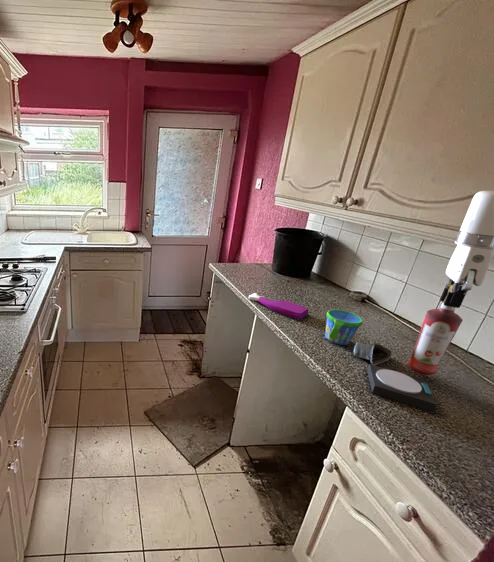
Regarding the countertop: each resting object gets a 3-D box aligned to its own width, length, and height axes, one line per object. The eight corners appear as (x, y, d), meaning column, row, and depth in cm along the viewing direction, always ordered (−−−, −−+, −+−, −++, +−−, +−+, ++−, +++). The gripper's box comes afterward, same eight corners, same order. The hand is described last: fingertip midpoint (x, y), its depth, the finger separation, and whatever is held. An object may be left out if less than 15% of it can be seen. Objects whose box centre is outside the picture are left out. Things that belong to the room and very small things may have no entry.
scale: (421, 386, 91) (425, 377, 90) (433, 411, 82) (437, 402, 81) (366, 370, 98) (370, 362, 97) (371, 392, 88) (375, 384, 87)
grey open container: (369, 348, 111) (355, 329, 106) (393, 353, 104) (379, 333, 100) (358, 370, 108) (343, 352, 104) (382, 377, 102) (367, 358, 98)
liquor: (437, 370, 95) (476, 286, 85) (436, 381, 90) (477, 293, 80) (405, 360, 100) (439, 279, 90) (403, 370, 95) (438, 285, 85)
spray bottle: (298, 321, 127) (243, 301, 145) (309, 314, 133) (256, 295, 151) (299, 314, 126) (244, 295, 144) (311, 308, 132) (257, 290, 150)
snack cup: (343, 354, 106) (352, 328, 102) (311, 339, 114) (318, 315, 110) (361, 340, 114) (370, 316, 110) (330, 328, 122) (338, 305, 118)
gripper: (513, 248, 72) (479, 318, 79) (484, 236, 85) (457, 297, 92) (469, 244, 76) (440, 311, 83) (447, 233, 89) (423, 292, 96)
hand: (449, 303), depth 87 cm, fingers closed on liquor, 2 cm apart
